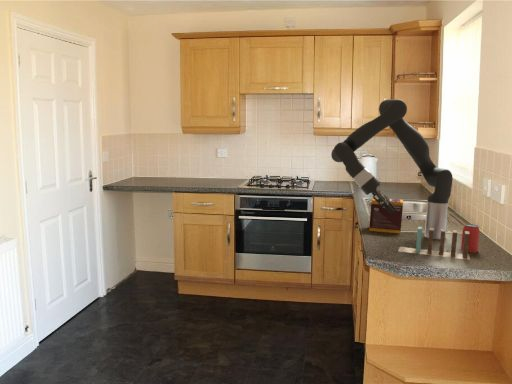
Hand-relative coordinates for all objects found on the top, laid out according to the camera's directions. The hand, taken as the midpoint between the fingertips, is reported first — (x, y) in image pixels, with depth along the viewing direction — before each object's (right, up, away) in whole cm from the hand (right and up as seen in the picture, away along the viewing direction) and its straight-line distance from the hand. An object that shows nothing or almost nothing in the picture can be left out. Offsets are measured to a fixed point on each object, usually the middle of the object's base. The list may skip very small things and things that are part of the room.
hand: (393, 211), depth 208 cm
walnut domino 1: (+14, -17, -3) cm, 22 cm away
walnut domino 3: (+23, -18, -6) cm, 29 cm away
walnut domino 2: (+18, -17, -5) cm, 25 cm away
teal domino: (+10, -16, -2) cm, 19 cm away
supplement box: (+8, -11, +42) cm, 44 cm away
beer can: (+33, -18, +3) cm, 38 cm away
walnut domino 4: (+27, -18, -8) cm, 33 cm away
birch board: (+16, -18, -3) cm, 24 cm away
